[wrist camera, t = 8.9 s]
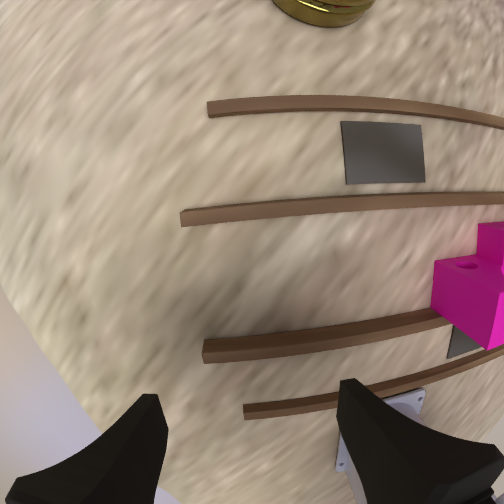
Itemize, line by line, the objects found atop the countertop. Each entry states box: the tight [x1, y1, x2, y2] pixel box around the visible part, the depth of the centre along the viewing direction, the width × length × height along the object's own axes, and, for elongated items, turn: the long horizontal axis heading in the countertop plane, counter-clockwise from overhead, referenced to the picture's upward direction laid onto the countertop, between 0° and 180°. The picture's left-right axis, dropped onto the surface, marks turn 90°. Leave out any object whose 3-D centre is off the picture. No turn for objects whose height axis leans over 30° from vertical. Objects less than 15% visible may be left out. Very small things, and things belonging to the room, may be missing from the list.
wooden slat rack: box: [180, 95, 504, 420], centre depth 18 cm, size 22×33×4 cm
